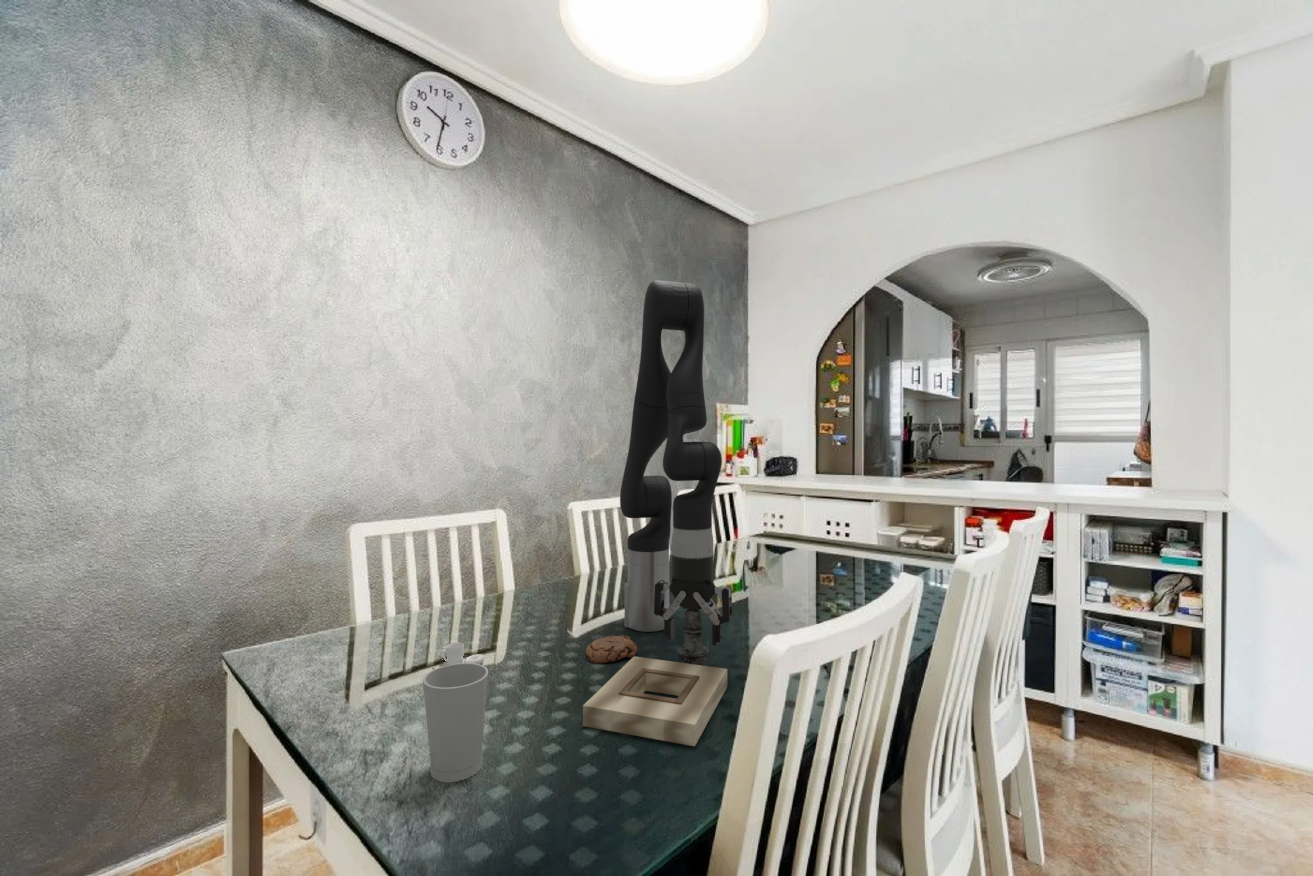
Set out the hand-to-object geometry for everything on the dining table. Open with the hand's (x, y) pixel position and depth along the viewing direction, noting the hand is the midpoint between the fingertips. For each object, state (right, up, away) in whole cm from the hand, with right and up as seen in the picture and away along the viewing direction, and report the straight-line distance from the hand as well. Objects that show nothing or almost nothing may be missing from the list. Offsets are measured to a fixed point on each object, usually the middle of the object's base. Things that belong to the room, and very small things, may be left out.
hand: (692, 641), depth 107 cm
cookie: (-15, -6, +8) cm, 18 cm away
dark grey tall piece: (0, -5, 0) cm, 5 cm away
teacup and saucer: (-42, -6, 0) cm, 43 cm away
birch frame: (-6, -5, -14) cm, 16 cm away
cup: (-32, -6, -31) cm, 45 cm away
